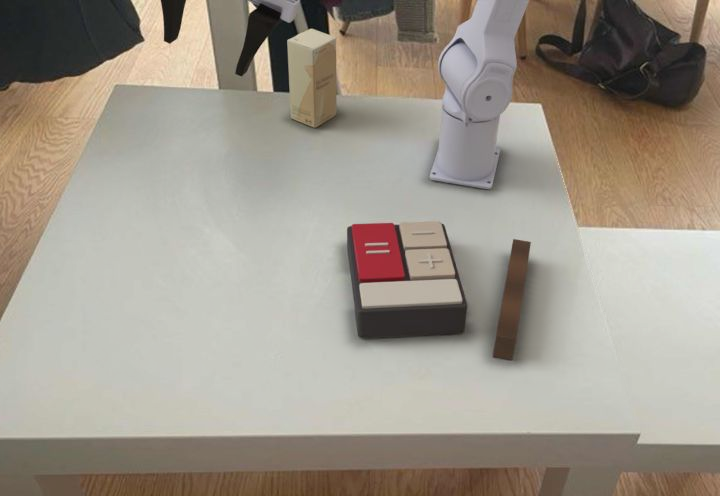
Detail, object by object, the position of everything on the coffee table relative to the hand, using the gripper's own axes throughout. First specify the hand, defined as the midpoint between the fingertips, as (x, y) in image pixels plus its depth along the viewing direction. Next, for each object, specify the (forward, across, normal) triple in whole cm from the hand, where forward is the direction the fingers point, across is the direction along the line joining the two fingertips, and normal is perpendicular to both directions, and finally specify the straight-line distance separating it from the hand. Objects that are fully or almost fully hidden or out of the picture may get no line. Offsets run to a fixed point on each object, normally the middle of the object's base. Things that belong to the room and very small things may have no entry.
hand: (206, 56), depth 85 cm
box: (+12, +10, +24) cm, 28 cm away
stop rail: (+8, +39, -9) cm, 41 cm away
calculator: (+11, +28, -8) cm, 32 cm away
